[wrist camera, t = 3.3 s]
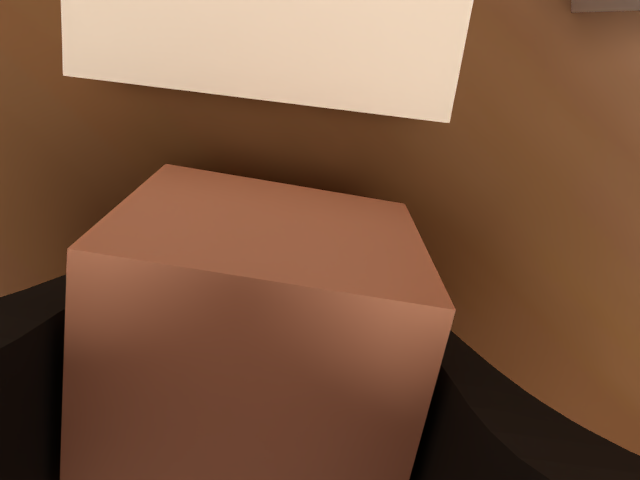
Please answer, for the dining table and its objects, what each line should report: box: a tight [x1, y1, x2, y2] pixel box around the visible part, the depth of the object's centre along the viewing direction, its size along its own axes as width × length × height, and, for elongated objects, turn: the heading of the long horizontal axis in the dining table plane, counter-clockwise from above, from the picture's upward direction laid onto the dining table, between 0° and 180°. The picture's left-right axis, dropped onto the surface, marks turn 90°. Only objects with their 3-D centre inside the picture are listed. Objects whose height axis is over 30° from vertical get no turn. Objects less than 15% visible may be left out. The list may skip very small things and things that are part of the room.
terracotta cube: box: [60, 164, 456, 480], centre depth 11 cm, size 5×5×5 cm
